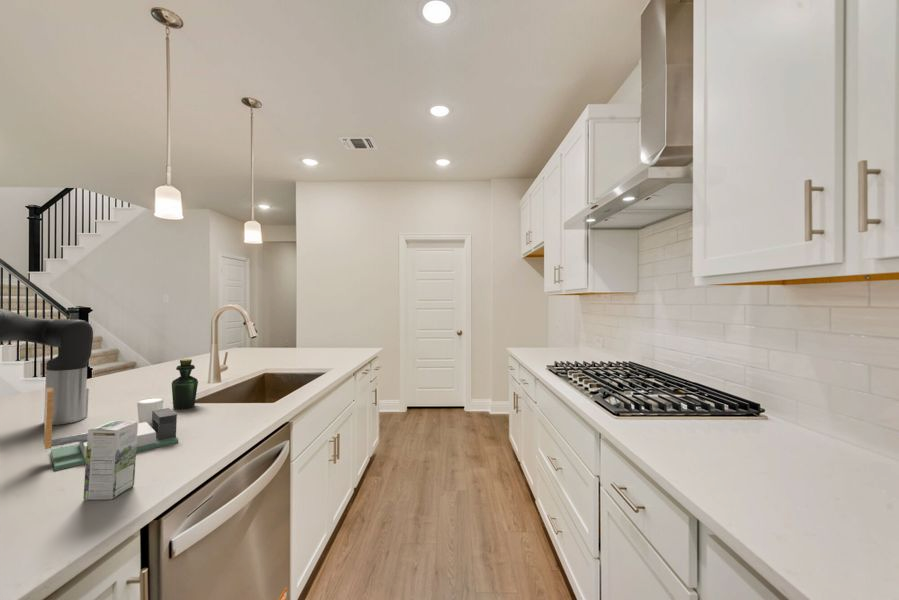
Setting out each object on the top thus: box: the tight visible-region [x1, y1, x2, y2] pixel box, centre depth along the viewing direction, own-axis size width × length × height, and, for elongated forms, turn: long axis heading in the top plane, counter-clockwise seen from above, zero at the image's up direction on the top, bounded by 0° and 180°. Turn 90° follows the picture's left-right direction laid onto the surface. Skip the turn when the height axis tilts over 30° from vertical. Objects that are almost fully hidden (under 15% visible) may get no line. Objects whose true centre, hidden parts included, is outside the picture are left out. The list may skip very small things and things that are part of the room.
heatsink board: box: [50, 407, 179, 471], centre depth 98 cm, size 24×14×8 cm, turn 140°
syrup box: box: [83, 420, 139, 501], centre depth 76 cm, size 6×6×14 cm
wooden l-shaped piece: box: [43, 387, 88, 450], centre depth 93 cm, size 12×6×14 cm, turn 140°
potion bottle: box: [171, 358, 199, 410], centre depth 136 cm, size 8×8×18 cm
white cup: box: [136, 397, 165, 425], centre depth 120 cm, size 7×7×7 cm
